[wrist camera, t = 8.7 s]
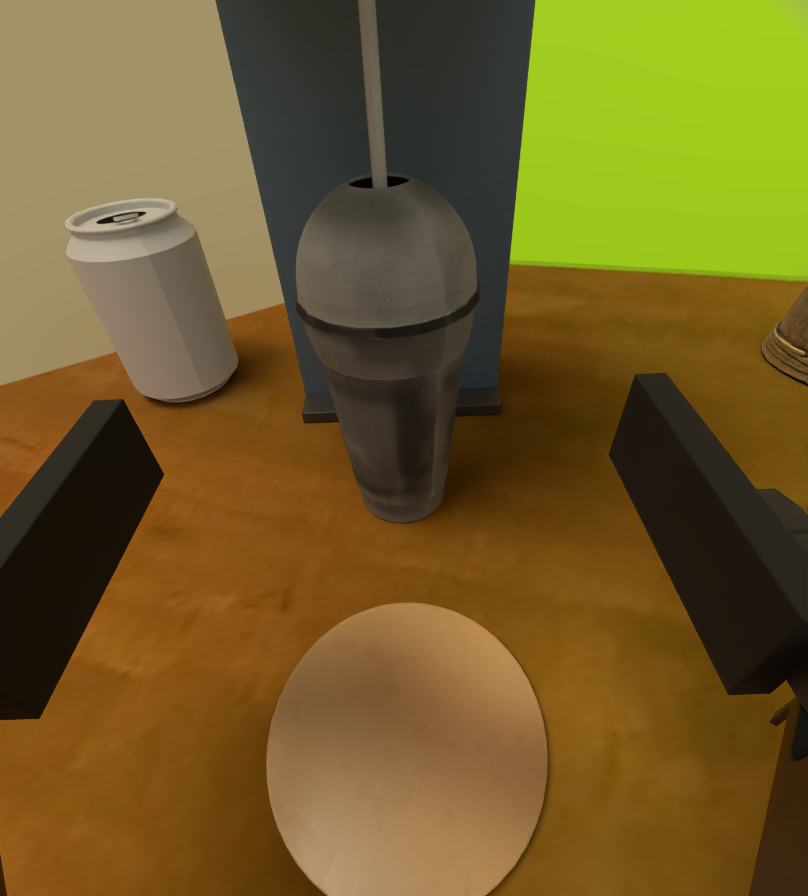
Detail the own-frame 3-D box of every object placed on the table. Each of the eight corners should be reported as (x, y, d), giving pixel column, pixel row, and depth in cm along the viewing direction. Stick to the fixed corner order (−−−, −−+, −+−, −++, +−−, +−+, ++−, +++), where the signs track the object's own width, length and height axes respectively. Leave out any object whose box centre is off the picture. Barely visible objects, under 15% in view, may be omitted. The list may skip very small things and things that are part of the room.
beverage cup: (332, 548, 24) (191, -4, 10) (342, 450, 29) (259, 6, 16) (477, 540, 24) (527, -28, 10) (460, 444, 29) (478, -9, 16)
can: (221, 344, 40) (166, 185, 32) (257, 382, 35) (203, 208, 27) (128, 376, 37) (42, 209, 29) (154, 423, 32) (59, 240, 24)
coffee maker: (538, 554, 23) (922, -1065, 5) (271, 564, 23) (-338, -915, 5) (486, 357, 36) (533, -259, 18) (317, 366, 36) (197, -231, 18)
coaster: (570, 942, 13) (573, 942, 13) (227, 906, 14) (222, 905, 14) (528, 612, 21) (529, 607, 20) (304, 602, 22) (302, 597, 21)
